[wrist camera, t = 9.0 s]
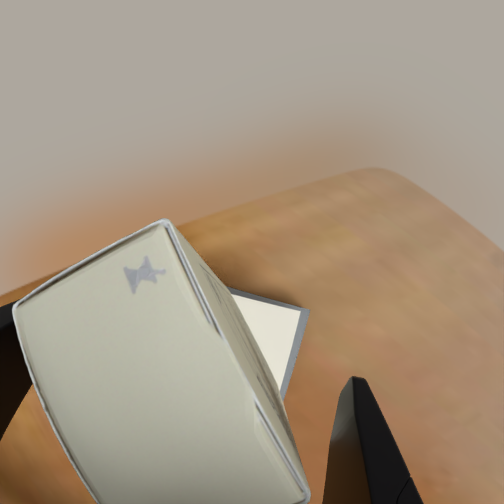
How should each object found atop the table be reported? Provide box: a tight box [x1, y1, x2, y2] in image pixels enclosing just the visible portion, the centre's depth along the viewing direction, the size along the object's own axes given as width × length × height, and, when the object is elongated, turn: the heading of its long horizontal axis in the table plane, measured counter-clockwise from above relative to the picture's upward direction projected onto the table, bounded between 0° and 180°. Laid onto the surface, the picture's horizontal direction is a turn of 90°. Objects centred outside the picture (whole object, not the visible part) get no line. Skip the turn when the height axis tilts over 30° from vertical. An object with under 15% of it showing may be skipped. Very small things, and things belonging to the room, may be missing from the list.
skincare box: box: [12, 218, 311, 504], centre depth 11 cm, size 6×4×12 cm
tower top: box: [231, 294, 301, 391], centre depth 18 cm, size 7×7×2 cm
